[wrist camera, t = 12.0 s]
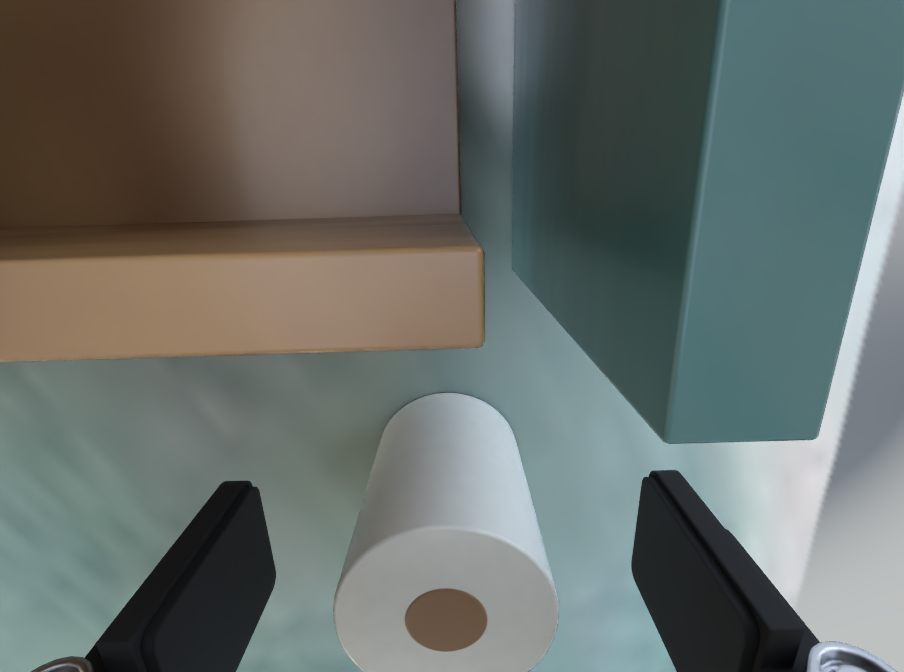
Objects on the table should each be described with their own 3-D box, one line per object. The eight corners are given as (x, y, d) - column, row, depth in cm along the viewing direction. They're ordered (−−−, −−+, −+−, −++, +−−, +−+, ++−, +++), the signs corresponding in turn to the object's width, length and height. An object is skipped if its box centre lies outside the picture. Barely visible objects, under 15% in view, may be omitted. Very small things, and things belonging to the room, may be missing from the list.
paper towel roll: (516, 510, 15) (555, 699, 9) (384, 513, 15) (344, 705, 9) (518, 389, 14) (566, 524, 8) (373, 393, 14) (318, 531, 8)
